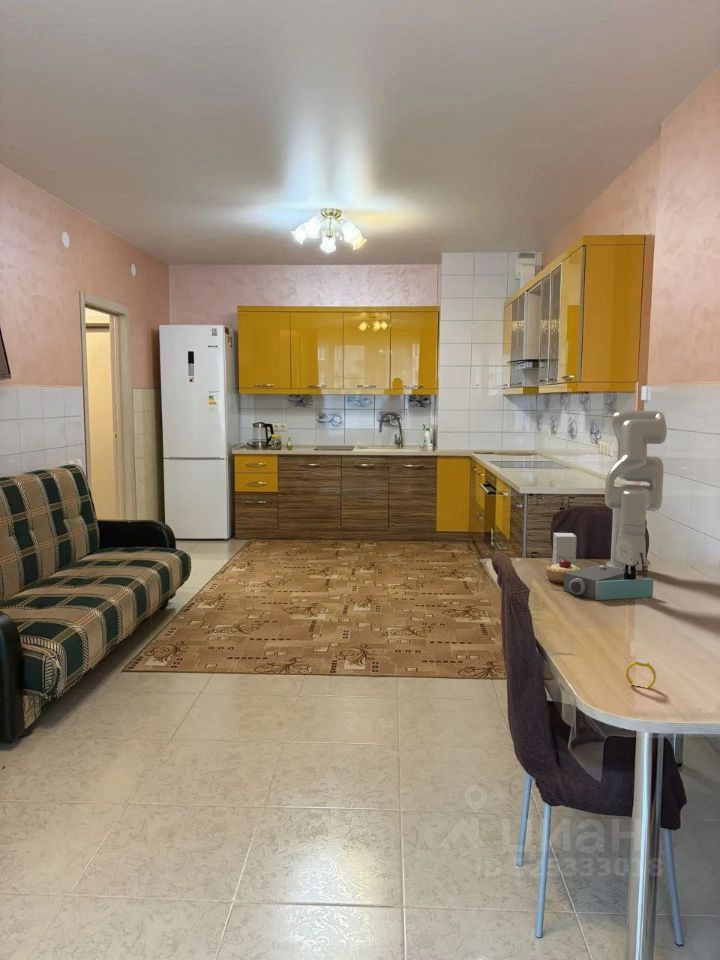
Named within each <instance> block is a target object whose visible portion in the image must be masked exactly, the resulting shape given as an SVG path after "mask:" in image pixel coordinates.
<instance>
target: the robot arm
mask: <svg viewBox="0 0 720 960" xmlns="http://www.w3.org/2000/svg"><path fill="white" fill-rule="evenodd" d="M665 419H666V418H665V415H664V413H663V412H661V411H657V410H655V411H654V410H653V411H652V410H651V411H649V410H622V411H617V412H614V414H613V415H612V417H611V426H612V429H613V433H614V435H615V438H616V441H617V457H616V458H617V461H616V463H615V464H613V466H612V467H611V468H610V469H609V471H608V473H607V475H606V478H605V488H604V502H605V505H606V506H607V507H608V508H609V509H612V530H611V544H610V545H611V546H610V549H611V550H610V560H609V561H607V562H606V564H605V566H608V567H613V568H617V569H622V570H623V571H624V572H625V573H624V580H629V579H637V574H638V572H639V571H643V566H644V565H645V563H646V559H647V558H646V556H647V555H646V553H647V552H646V551H647V550H646V549H647V548H646V547H647V546H646V523H647V522H646V520H647V512H656V511H659V510H660V509H661V508H662V507H661V506H662V502H663V491H664V490H663V488H664V487H663V486H664V462H663V460H662V459H661V458H660V457H659V456H658V457H657V456H653V455H650V456H648V444H649V445H653V444H654V445H662V444H664V443H665V441H666V439H667V434H668V433H667V430H668V429H667V423H666V420H665ZM617 478H618V479H619V480H621V481H625V482H636V483H637V482H639V483H640V482H641V483H648V484H649V485H646V484H630V483H627V484H626V483H625V484H622V483H621V484H618V485H615V480H616V479H617Z"/></svg>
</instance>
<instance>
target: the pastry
mask: <svg viewBox="0 0 720 960" xmlns="http://www.w3.org/2000/svg"><path fill="white" fill-rule="evenodd" d="M559 557H560V556H558V558H559ZM561 557H562V556H561ZM558 558H557V559H558ZM563 558H564V557H563ZM564 559H565V558H564ZM579 569H581V568H580V566H579V567H578V566H577V565H576V566H575V565H571V562H570V561H568V560H561V561H560V562H559V563H558V564H553V563H551V564H548V565H547V566H546V568H545V571H546V572H545V573H546V576H547V578H548V580H549V581H550V582H552V583H555V584H560V583H562V584H561V585H564V573H567V572H571V571H575V570H579Z"/></svg>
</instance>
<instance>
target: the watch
mask: <svg viewBox="0 0 720 960" xmlns="http://www.w3.org/2000/svg"><path fill="white" fill-rule="evenodd" d="M649 662H650V661H648V660H647V659H643V658H636V659H635V660H634V661H633V662H630V663H629V665H628V666H627V668H626V672H625V677H626V680H627V681H628V683H629V684H630V683H632V682H634V681H633V680H632V679H631V677H630V675H629V672H630V671H629V670H630V669H631V668H632V667H633V666H636V665H637V666H640V667H647V668H648V669H649V670H650V671H651V672H652V674H653V675H652V676H653V679H652V680H651V682H650V683H648V684H647V685H648V686H649V688H651V687H653V686H654V683H655V682H656V680H657V679H656V678H657V675H656V674H657V673H656V670H655V669H654V667H653V666H652V665H651V664H650V663H649Z"/></svg>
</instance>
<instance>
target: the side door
mask: <svg viewBox="0 0 720 960" xmlns="http://www.w3.org/2000/svg"><path fill="white" fill-rule="evenodd" d="M654 581H655V580H654V578H652V577H651V578H649V577H647V578H636V579H629V580H612V581H596V592H595V599H594V600H595V601H603V600H606V601H607V600H619V599H623V600H624V599H637V598H638V599H639V598H652V597H653V596H654V595H653V594H654Z"/></svg>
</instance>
